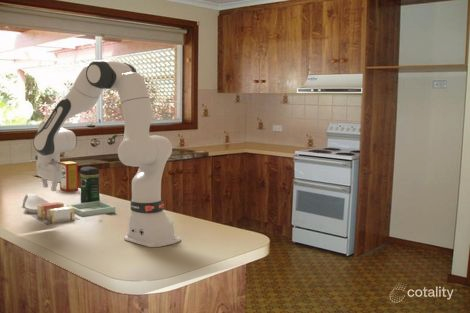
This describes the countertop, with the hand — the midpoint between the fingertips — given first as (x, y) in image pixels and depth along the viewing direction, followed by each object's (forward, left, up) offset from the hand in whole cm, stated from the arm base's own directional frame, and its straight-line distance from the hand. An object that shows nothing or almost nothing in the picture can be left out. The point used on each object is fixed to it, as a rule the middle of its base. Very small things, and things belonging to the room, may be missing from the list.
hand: (49, 189), depth 209 cm
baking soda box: (+56, -32, -13) cm, 66 cm away
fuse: (0, 0, -12) cm, 12 cm away
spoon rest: (+17, +1, -13) cm, 22 cm away
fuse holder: (-5, 0, -13) cm, 14 cm away
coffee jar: (+16, -26, -13) cm, 33 cm away
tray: (-2, -18, -13) cm, 22 cm away
